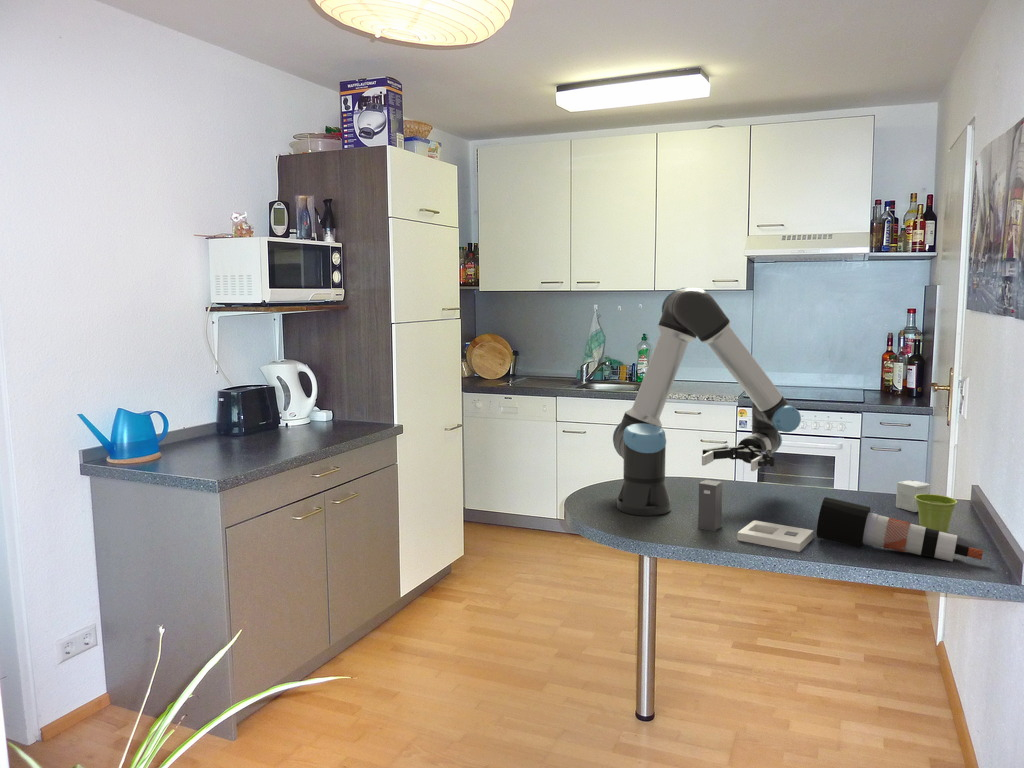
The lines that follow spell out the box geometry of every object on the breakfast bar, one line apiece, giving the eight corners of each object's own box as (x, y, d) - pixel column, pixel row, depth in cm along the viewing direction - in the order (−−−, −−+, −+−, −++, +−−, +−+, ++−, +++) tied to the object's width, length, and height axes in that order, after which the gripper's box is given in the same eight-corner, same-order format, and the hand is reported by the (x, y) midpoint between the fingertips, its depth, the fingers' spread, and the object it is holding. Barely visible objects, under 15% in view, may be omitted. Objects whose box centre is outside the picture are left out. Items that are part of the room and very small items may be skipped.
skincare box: (914, 512, 210) (915, 486, 209) (895, 507, 215) (896, 481, 214) (929, 509, 212) (930, 484, 211) (910, 504, 218) (911, 479, 217)
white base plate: (737, 540, 189) (737, 531, 188) (753, 527, 198) (753, 519, 198) (799, 551, 180) (799, 542, 180) (813, 538, 189) (813, 529, 189)
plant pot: (936, 525, 199) (938, 492, 197) (964, 536, 189) (966, 502, 188) (904, 527, 197) (906, 494, 196) (930, 539, 188) (932, 504, 187)
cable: (976, 586, 169) (983, 555, 164) (815, 546, 187) (817, 516, 181) (980, 554, 176) (987, 523, 171) (825, 518, 193) (827, 488, 188)
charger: (697, 528, 198) (698, 483, 197) (704, 523, 202) (705, 479, 201) (714, 531, 196) (715, 485, 194) (721, 526, 200) (722, 481, 198)
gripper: (797, 465, 215) (773, 482, 198) (712, 456, 230) (683, 471, 213) (798, 439, 214) (774, 454, 197) (712, 432, 229) (683, 445, 212)
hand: (727, 463), depth 205 cm, fingers open, 13 cm apart
